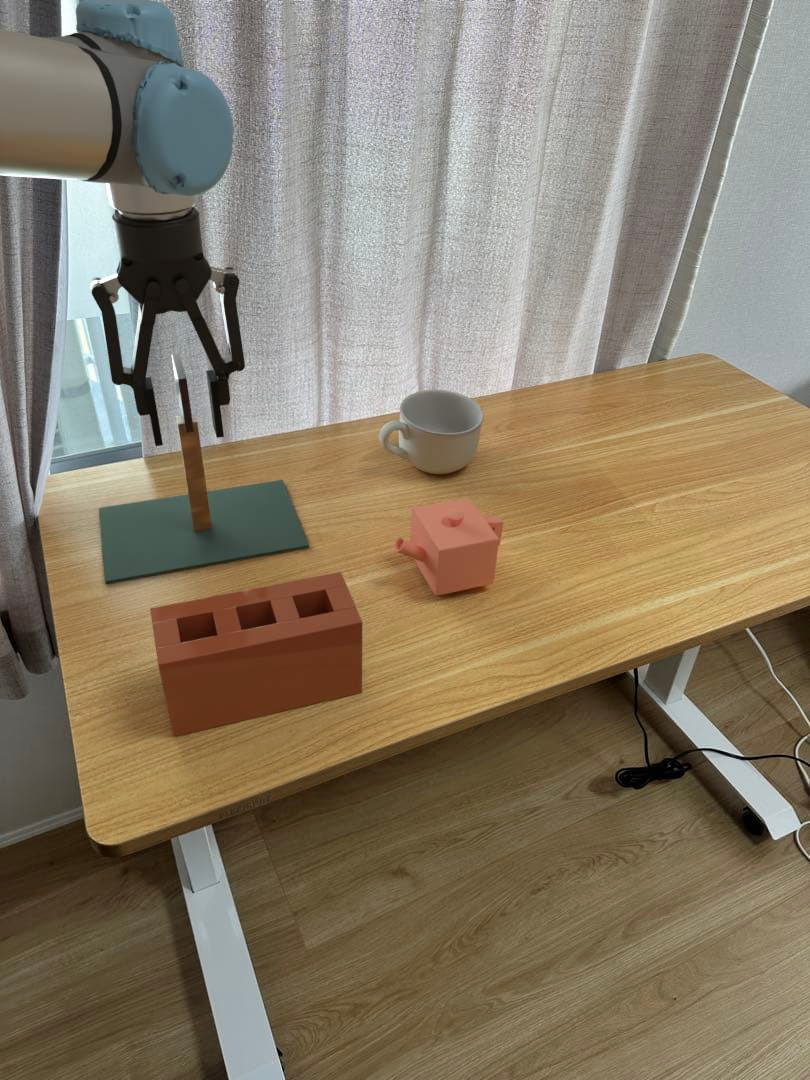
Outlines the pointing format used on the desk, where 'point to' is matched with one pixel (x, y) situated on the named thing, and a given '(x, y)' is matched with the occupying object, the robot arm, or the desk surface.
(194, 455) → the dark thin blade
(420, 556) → the pink cube teapot
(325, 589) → the holder
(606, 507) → the desk surface
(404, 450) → the teacup
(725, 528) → the desk surface
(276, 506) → the mat
